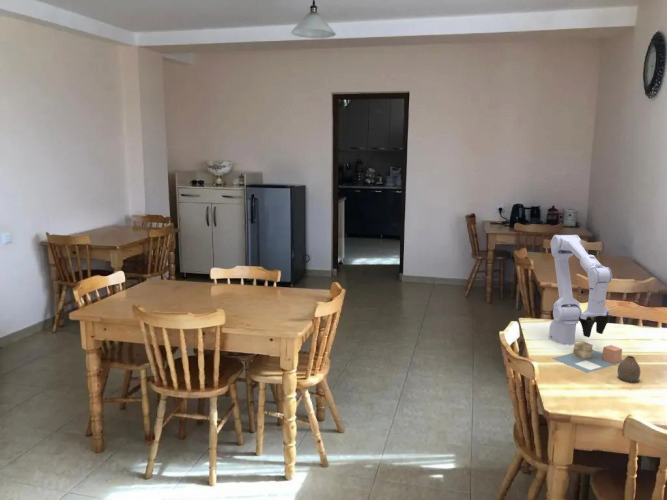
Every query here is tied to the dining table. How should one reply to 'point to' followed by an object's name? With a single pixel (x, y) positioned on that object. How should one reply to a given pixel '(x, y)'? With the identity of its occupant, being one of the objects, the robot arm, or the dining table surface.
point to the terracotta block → (612, 354)
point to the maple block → (582, 350)
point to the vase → (629, 369)
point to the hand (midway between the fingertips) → (593, 334)
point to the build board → (585, 362)
